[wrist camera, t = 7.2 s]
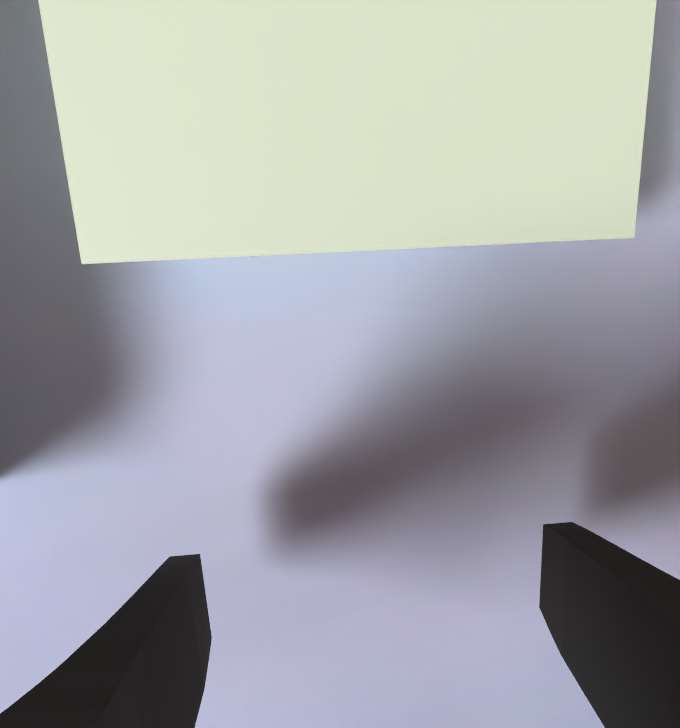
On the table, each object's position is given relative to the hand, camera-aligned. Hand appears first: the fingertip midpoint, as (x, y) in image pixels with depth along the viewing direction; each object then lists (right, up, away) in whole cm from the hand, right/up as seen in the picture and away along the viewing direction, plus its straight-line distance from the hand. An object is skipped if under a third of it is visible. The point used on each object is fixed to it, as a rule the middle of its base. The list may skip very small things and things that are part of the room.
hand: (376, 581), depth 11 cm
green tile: (-1, +10, 0) cm, 10 cm away
